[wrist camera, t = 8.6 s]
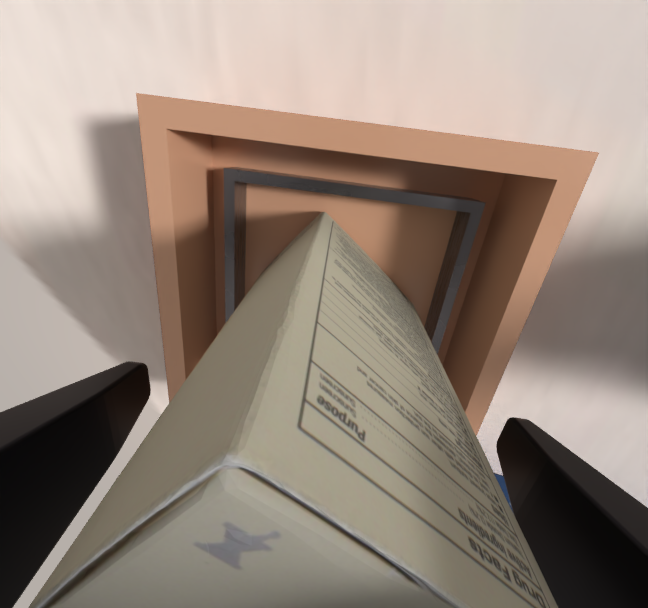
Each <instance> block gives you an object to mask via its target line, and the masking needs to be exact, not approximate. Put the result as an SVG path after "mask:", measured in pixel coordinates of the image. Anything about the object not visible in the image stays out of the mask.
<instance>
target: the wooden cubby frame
mask: <svg viewBox="0 0 648 608" xmlns="http://www.w3.org/2000/svg"><path fill="white" fill-rule="evenodd" d="M136 97H137V106H138V115H139V125H140V134H141V143H142V153H143V162H144V171H145V180H146V190H147V199H148V208H149V218H150V227H151V236H152V246H153V255H154V264H155V274H156V283H157V292H158V302H159V311H160V320H161V329H162V339H163V348H164V357H165V367H166V376H167V385H168V395H169V403H170V402H171V400H172V399H173V398H174V396H175V395H176V393H177V392H178V390H179V389H180V387H181V386H182V384H183V383H184V381H185V380H186V379H187V377H188V376H189V375H190V373H191V372H192V370H193V369H194V368H195V366H196V365H197V363H198V362H199V360H200V359H201V358H202V356H203V355H204V353H205V352H206V351H207V349H208V348H209V346H210V345H211V343H212V342H213V341H214V339H215V338H216V336H217V335H218V333H219V332H220V330H221V329H222V328H223V326H224V325H225V245H224V168H229V167H242V168H250V169H257V170H265V171H272V172H280V173H287V174H295V175H302V176H310V177H317V178H325V179H332V180H340V181H348V182H355V183H363V184H370V185H378V186H385V187H393V188H400V189H408V190H415V191H423V192H430V193H438V194H445V195H453V196H460V197H468V198H473V199H476V200H479V201H482V202H485V203H486V204H485V207H484V210H483V213H482V216H481V219H480V223H479V226H478V229H477V232H476V235H475V238H474V241H473V245H472V248H471V251H470V254H469V257H468V260H467V263H466V267H465V270H464V273H463V276H462V279H461V282H460V285H459V289H458V292H457V295H456V298H455V301H454V304H453V307H452V311H451V314H450V317H449V320H448V323H447V326H446V329H445V333H444V336H443V339H442V342H441V345H440V348H439V351H438V357H439V359H440V362H441V364H442V366H443V368H444V370H445V372H446V374H447V376H448V378H449V380H450V382H451V384H452V387H453V389H454V391H455V393H456V395H457V397H458V399H459V401H460V403H461V405H462V407H463V410H464V412H465V414H466V416H467V418H468V420H469V422H470V425H471V427H472V429H473V431H474V433H475V435H477V433H478V431H479V429H480V426H481V424H482V422H483V419H484V417H485V415H486V412H487V410H488V408H489V406H490V403H491V401H492V399H493V396H494V394H495V392H496V389H497V387H498V385H499V382H500V380H501V378H502V376H503V373H504V371H505V369H506V366H507V364H508V362H509V359H510V357H511V355H512V352H513V350H514V348H515V346H516V343H517V341H518V339H519V336H520V334H521V332H522V329H523V327H524V325H525V322H526V320H527V318H528V316H529V313H530V311H531V309H532V306H533V304H534V302H535V299H536V297H537V295H538V292H539V290H540V288H541V286H542V283H543V281H544V279H545V276H546V274H547V272H548V269H549V267H550V265H551V262H552V260H553V258H554V256H555V253H556V251H557V249H558V246H559V244H560V242H561V239H562V237H563V235H564V232H565V230H566V228H567V226H568V223H569V221H570V219H571V216H572V214H573V212H574V209H575V207H576V205H577V202H578V200H579V198H580V196H581V193H582V191H583V189H584V186H585V184H586V182H587V179H588V177H589V175H590V173H591V170H592V168H593V166H594V163H595V161H596V159H597V156H598V154H599V153H598V152H590V151H582V150H574V149H567V148H559V147H551V146H543V145H535V144H528V143H520V142H512V141H504V140H497V139H489V138H481V137H473V136H465V135H458V134H450V133H442V132H434V131H427V130H419V129H411V128H403V127H395V126H388V125H380V124H372V123H364V122H357V121H349V120H341V119H333V118H326V117H318V116H310V115H302V114H294V113H287V112H279V111H271V110H263V109H256V108H248V107H240V106H232V105H224V104H217V103H209V102H201V101H193V100H186V99H178V98H170V97H162V96H154V95H147V94H139V93H136ZM321 212H326V213H327V214H328V215H329V216H330V217H331V218H332V219H333V220H334V221H335V222H336V223H337V224H338V225H339V226H340V227H341V228H342V229H343V230H344V231H345V232H346V233H347V234H348V235H349V236H350V237H351V238H352V239H353V240H354V241H355V242H356V243H357V244H358V245H359V246H360V247H361V248H362V249H363V250H364V251H365V252H366V254H367V255H368V256H369V257H370V258H371V259H372V260H373V261H374V262H375V263H376V264H377V265H378V266H379V267H380V268H381V269H382V271H383V272H384V273H385V274H386V275H387V276H388V277H389V278H390V279H391V280H392V281H393V282H394V284H395V285H396V286H397V287H398V288H399V289H400V290H401V291H402V292H403V293H404V295H405V296H406V297H407V298H408V299H409V300H410V301H411V302H412V304H413V305H414V307H415V309H416V311H417V314H418V316H419V318H420V320H421V322H422V324H423V326H425V322H426V319H427V315H428V312H429V308H430V305H431V301H432V298H433V294H434V291H435V287H436V284H437V280H438V277H439V273H440V270H441V266H442V263H443V259H444V256H445V252H446V249H447V245H448V242H449V238H450V235H451V231H452V228H453V224H454V221H455V217H456V214H457V211H453V210H446V209H438V208H431V207H424V206H416V205H409V204H401V203H394V202H386V201H379V200H371V199H364V198H356V197H349V196H341V195H334V194H326V193H319V192H311V191H304V190H296V189H289V188H281V187H274V186H267V185H259V184H252V183H247V194H246V254H245V295H246V294H247V293H248V291H249V290H250V288H251V287H252V286H253V284H254V283H255V281H256V280H257V279H258V277H259V276H260V274H261V273H262V272H263V271H264V270H265V269H266V268H267V267H268V266H269V264H270V263H271V262H272V261H273V260H274V259H275V258H276V257H277V256H278V255H279V254H280V253H281V252H282V251H283V250H284V249H285V247H286V246H288V245H289V243H290V242H291V241H292V240H293V239H294V238H295V237H296V236H297V235H298V234H299V233H300V232H301V231H302V230H303V229H304V228H305V227H307V226H308V225H309V224H310V223H311V222H312V221H313V220H314V219H315V218H316V217H317V216H318V215H319V214H320V213H321Z"/></svg>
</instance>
